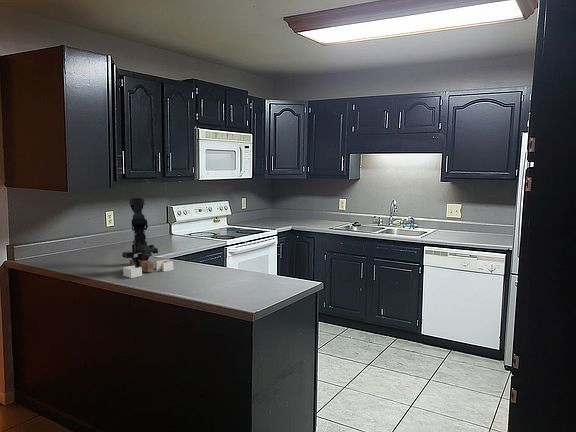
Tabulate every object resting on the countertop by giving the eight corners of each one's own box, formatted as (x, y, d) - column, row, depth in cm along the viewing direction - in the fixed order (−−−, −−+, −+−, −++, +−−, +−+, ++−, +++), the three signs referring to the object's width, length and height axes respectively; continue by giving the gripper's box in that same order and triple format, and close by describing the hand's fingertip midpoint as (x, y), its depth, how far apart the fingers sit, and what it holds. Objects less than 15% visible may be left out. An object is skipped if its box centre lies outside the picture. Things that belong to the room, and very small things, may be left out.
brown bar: (130, 268, 259) (129, 259, 258) (135, 267, 262) (134, 258, 261) (148, 272, 249) (147, 263, 249) (153, 271, 252) (153, 262, 252)
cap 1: (123, 275, 245) (123, 267, 244) (134, 273, 249) (133, 265, 249) (131, 278, 239) (130, 269, 239) (142, 275, 244) (141, 267, 243)
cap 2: (155, 269, 259) (155, 261, 258) (165, 267, 263) (165, 259, 263) (163, 271, 253) (163, 263, 253) (173, 269, 258) (173, 261, 257)
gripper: (131, 244, 241) (133, 273, 243) (162, 239, 255) (164, 266, 257) (121, 241, 249) (122, 270, 251) (152, 237, 262) (153, 264, 264)
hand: (141, 267), depth 255 cm, fingers closed on brown bar, 4 cm apart
